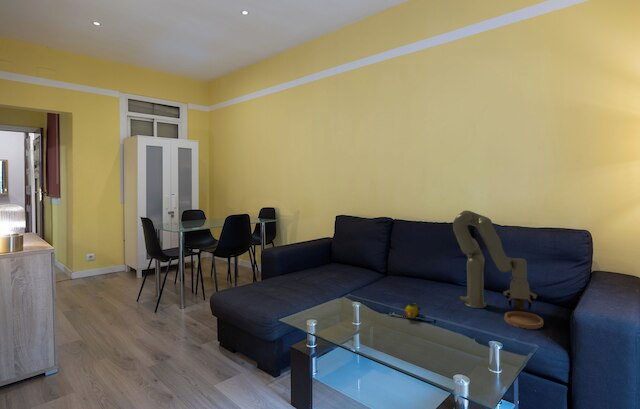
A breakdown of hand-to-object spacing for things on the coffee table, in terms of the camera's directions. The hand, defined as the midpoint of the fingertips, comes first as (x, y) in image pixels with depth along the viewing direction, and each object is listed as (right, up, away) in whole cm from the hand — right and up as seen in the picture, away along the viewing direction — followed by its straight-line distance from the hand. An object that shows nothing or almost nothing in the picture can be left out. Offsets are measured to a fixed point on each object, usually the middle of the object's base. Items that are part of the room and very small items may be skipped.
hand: (519, 307), depth 205 cm
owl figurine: (-65, -6, -2) cm, 66 cm away
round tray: (-6, -4, -14) cm, 16 cm away
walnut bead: (0, -2, 0) cm, 2 cm away
